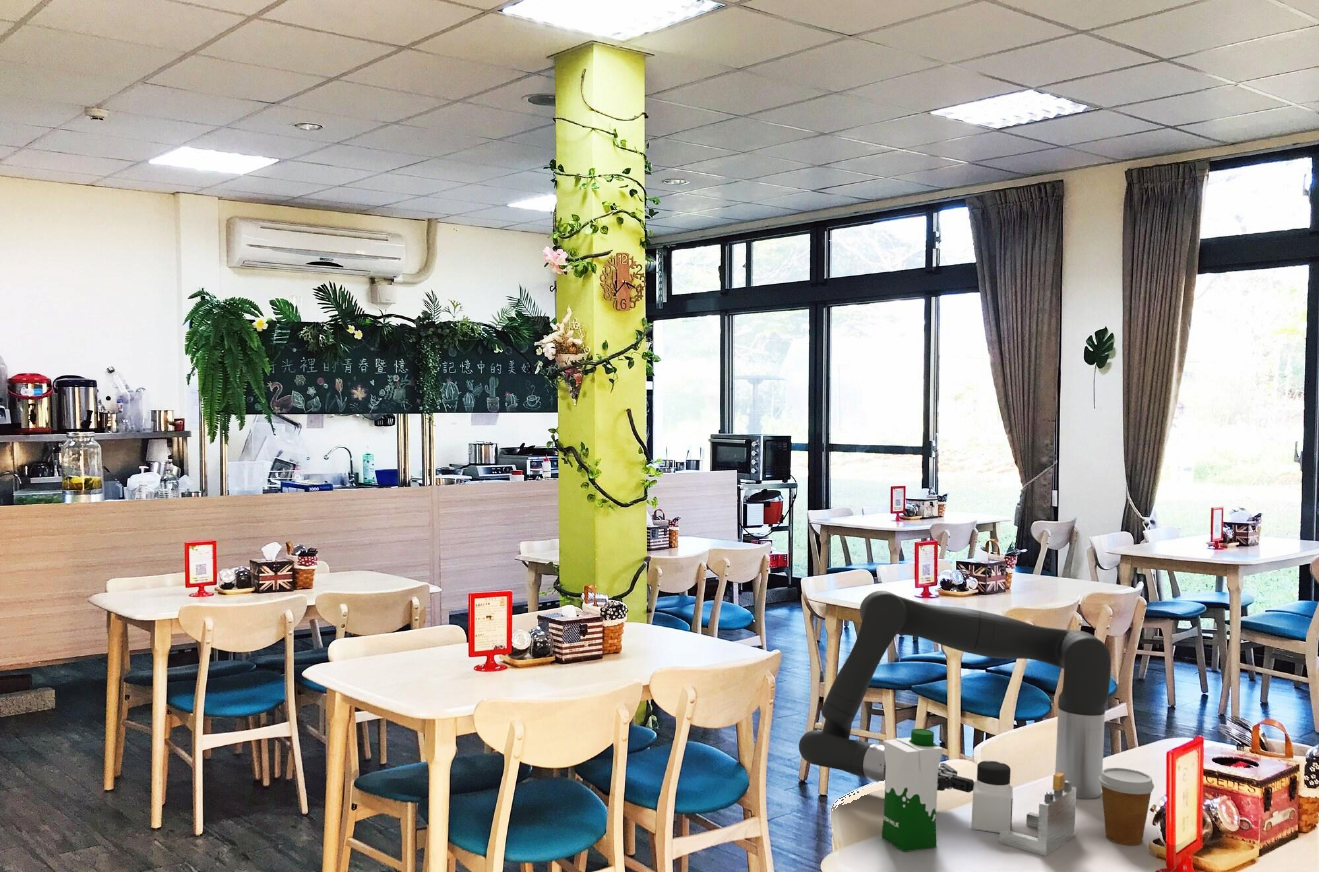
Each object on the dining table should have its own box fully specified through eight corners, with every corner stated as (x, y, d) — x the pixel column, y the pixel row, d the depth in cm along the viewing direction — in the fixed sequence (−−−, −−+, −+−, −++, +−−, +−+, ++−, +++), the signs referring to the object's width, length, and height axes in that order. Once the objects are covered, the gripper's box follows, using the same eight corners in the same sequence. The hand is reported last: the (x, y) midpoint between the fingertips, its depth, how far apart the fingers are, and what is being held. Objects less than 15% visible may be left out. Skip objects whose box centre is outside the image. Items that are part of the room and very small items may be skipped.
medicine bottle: (1011, 835, 208) (1013, 771, 208) (971, 829, 211) (974, 766, 210) (1010, 822, 215) (1013, 760, 215) (972, 817, 217) (975, 755, 217)
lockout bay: (1029, 823, 215) (1032, 757, 215) (1074, 835, 210) (1077, 767, 209) (999, 842, 204) (1002, 773, 204) (1045, 856, 199) (1048, 784, 199)
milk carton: (944, 848, 201) (948, 737, 200) (901, 854, 197) (906, 741, 197) (914, 831, 209) (918, 724, 208) (873, 836, 205) (877, 728, 205)
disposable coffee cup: (1127, 852, 202) (1130, 785, 202) (1085, 833, 211) (1088, 770, 211) (1163, 844, 207) (1166, 779, 206) (1120, 827, 215) (1123, 764, 215)
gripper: (875, 754, 221) (957, 774, 210) (907, 741, 232) (987, 759, 220) (874, 792, 222) (956, 814, 210) (906, 777, 232) (986, 797, 220)
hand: (972, 786), depth 215 cm, fingers closed
